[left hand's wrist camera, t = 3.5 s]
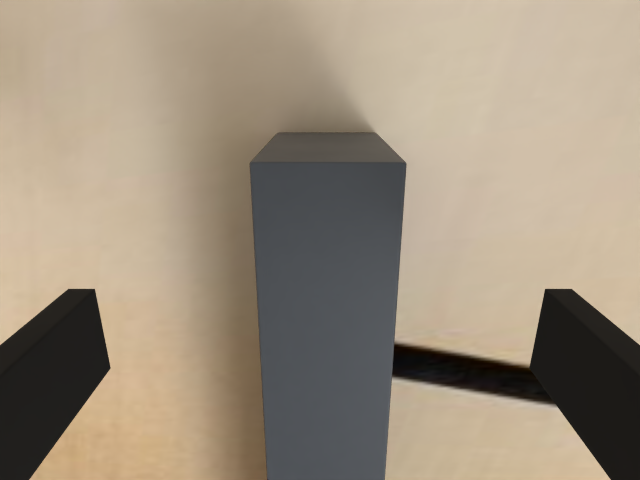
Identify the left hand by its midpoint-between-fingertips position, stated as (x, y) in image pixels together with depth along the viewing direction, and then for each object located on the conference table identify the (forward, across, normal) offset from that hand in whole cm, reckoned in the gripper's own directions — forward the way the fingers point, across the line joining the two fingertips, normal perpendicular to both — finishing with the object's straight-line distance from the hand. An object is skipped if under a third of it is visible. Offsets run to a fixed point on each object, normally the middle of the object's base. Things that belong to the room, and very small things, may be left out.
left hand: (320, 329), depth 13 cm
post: (+11, 0, -21) cm, 23 cm away
